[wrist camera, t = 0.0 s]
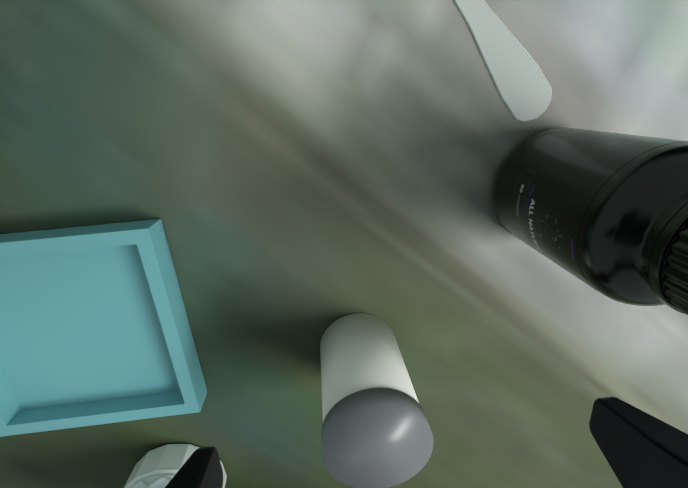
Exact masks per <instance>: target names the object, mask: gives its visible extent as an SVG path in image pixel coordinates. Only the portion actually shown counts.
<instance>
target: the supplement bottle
mask: <svg viewBox="0 0 688 488" xmlns="http://www.w3.org/2000/svg"><path fill="white" fill-rule="evenodd" d="M493 204H494V209H495V212H496V215H497V217H498V219H499V221H500V222H501V224H502V225H503V226H504V227H505V228H506V229H507V230H508V231H509V232H510V233H512V234H513V235H514V236H516V237H517V238H519V239H520V240H521V241H523V242H524V243H526V244H527V245H529V246H530V247H532V248H533V249H535V250H536V251H538V252H539V253H541V254H542V255H544V256H545V257H547V258H548V259H550V260H552V261H553V262H555V263H556V264H558V265H559V266H561V267H562V268H564V269H565V270H567V271H568V272H570V273H571V274H573V275H574V276H576V277H577V278H579V279H580V280H582V281H583V282H585V283H586V284H588V285H589V286H591V287H592V288H594V289H595V290H597V291H598V292H600V293H602V294H604V295H605V296H607V297H609V298H611V299H613V300H616V301H618V302H622V303H625V304H631V305H639V306H657V305H665V304H666V305H668V306H669V307H671V308H673V309H675V310H677V311H679V312H681V313H685V314H687V315H688V141H681V140H672V139H663V138H654V137H645V136H637V135H628V134H619V133H610V132H601V131H592V130H583V129H573V128H554V129H549V130H545V131H542V132H539V133H537V134H534V135H532V136H530V137H529V138H527V139H525V140H524V141H523V142H521V143H520V144H519V145H518V146H516V147H515V148H514V149H513V150H512V151H511V153H510V154H509V155H508V156H507V157H506V159H505V160H504V162H503V163H502V165H501V167H500V169H499V171H498V173H497V176H496V179H495V183H494V188H493Z"/></svg>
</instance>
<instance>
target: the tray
mask: <svg viewBox="0 0 688 488" xmlns="http://www.w3.org/2000/svg"><path fill="white" fill-rule="evenodd" d="M206 394H207V388H206V385H205V381H204V377H203V373H202V370H201V366H200V362H199V359H198V355H197V351H196V347H195V344H194V340H193V336H192V332H191V329H190V325H189V321H188V317H187V314H186V310H185V306H184V302H183V299H182V295H181V291H180V288H179V284H178V280H177V276H176V273H175V269H174V265H173V261H172V258H171V254H170V250H169V246H168V243H167V239H166V235H165V231H164V228H163V224H162V220H161V219H152V220H142V221H132V222H121V223H111V224H101V225H90V226H80V227H70V228H59V229H49V230H39V231H28V232H18V233H8V234H0V437H2V436H10V435H18V434H26V433H34V432H43V431H51V430H59V429H67V428H75V427H83V426H91V425H99V424H107V423H115V422H123V421H131V420H139V419H147V418H156V417H164V416H172V415H180V414H188V413H196V412H200V411H201V408H202V405H203V403H204V400H205V397H206Z"/></svg>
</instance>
